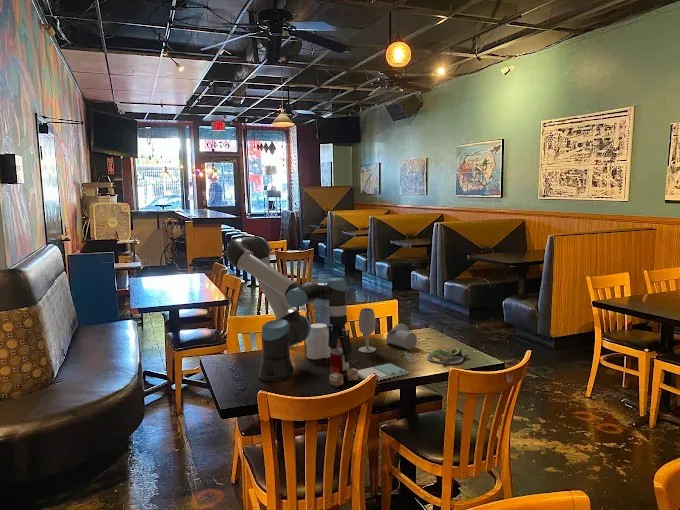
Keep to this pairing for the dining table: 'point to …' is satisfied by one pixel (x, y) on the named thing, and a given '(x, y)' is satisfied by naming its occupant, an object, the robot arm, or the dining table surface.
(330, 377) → the maple block
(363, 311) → the wineglass
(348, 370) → the maple block
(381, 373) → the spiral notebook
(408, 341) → the bent grey cylinder
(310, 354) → the jar
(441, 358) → the salad plate
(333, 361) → the canned food
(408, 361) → the dining table surface
